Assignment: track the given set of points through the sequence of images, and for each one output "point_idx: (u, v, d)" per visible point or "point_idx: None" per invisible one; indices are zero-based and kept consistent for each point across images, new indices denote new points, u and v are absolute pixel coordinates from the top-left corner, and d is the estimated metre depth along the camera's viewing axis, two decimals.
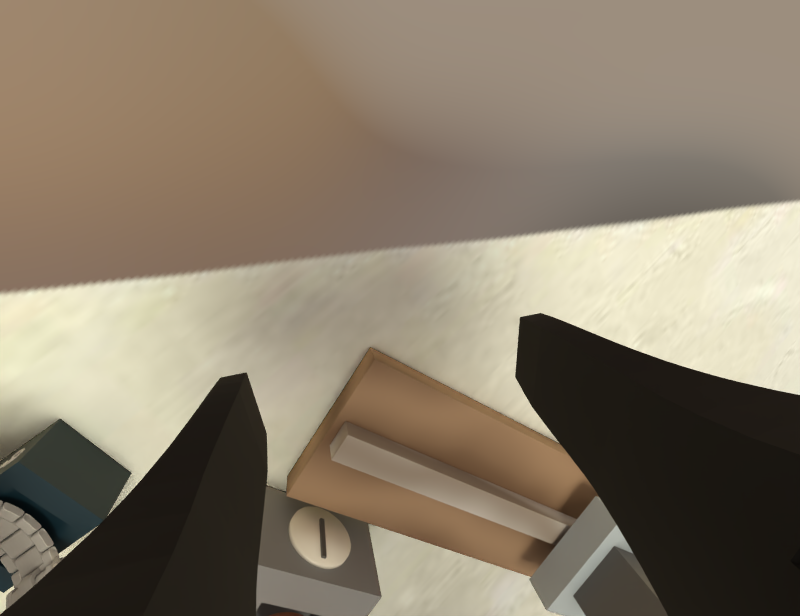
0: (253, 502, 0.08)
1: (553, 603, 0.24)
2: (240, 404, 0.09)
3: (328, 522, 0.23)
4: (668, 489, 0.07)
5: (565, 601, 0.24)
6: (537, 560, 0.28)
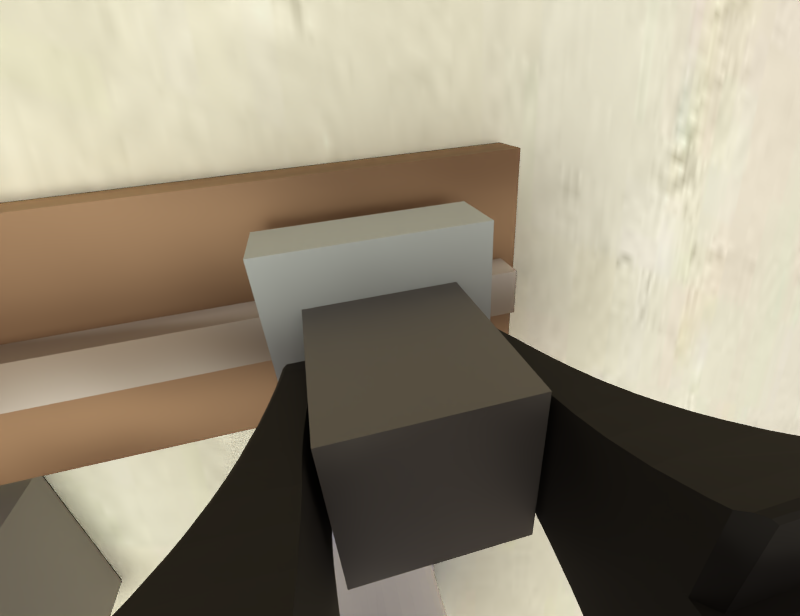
0: None
1: None
2: None
3: None
4: (589, 513, 0.07)
5: None
6: None
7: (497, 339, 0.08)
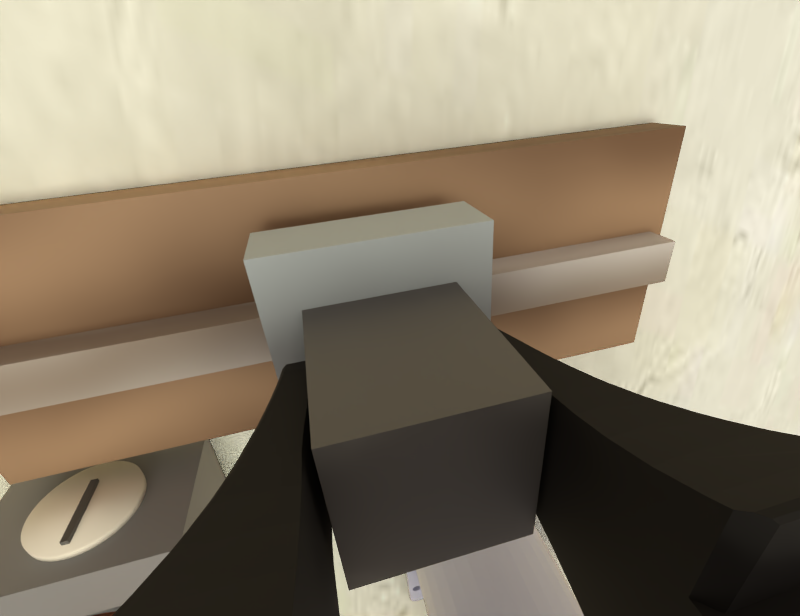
0: None
1: None
2: None
3: (110, 478, 0.15)
4: (589, 513, 0.07)
5: None
6: None
7: (498, 339, 0.08)
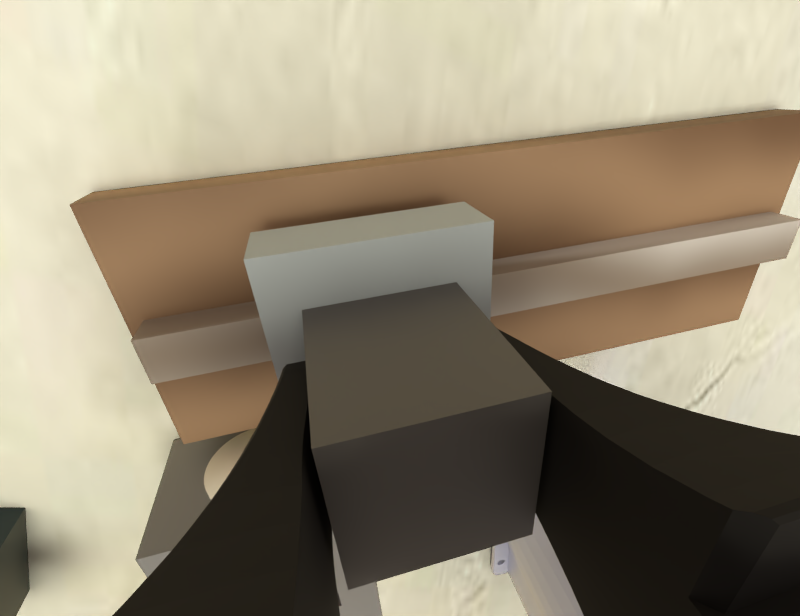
0: None
1: None
2: None
3: None
4: (589, 513, 0.07)
5: None
6: (616, 322, 0.18)
7: (497, 339, 0.08)
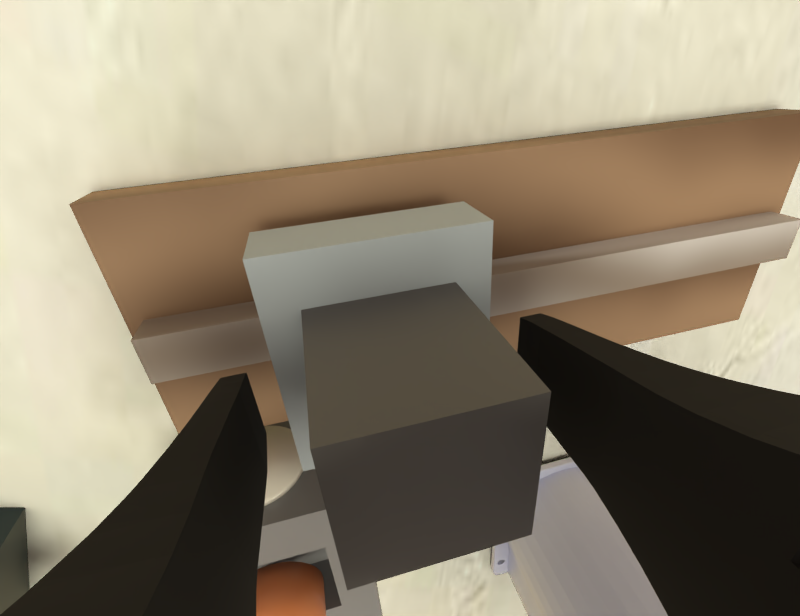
0: (253, 501, 0.08)
1: (302, 458, 0.12)
2: (241, 404, 0.09)
3: (269, 440, 0.16)
4: (668, 489, 0.07)
5: None
6: (617, 321, 0.18)
7: (497, 339, 0.08)
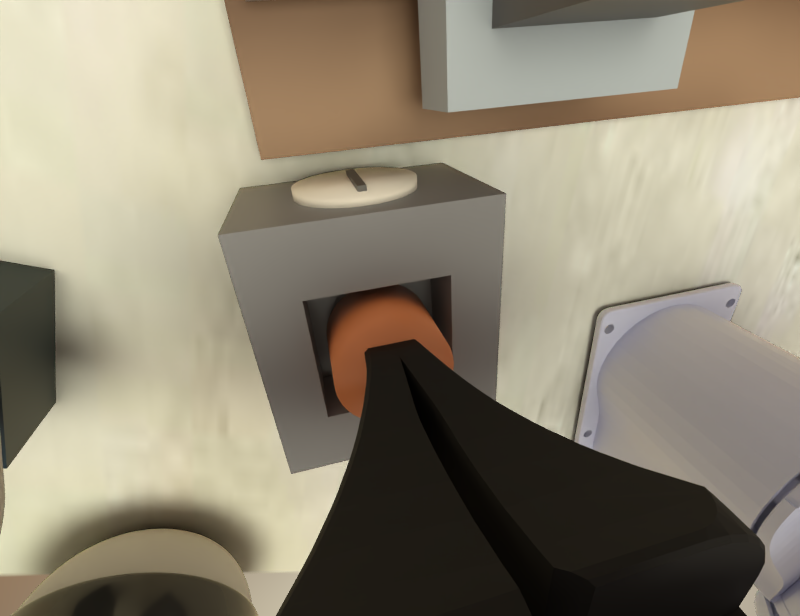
0: None
1: (450, 83, 0.09)
2: None
3: (365, 172, 0.13)
4: None
5: (484, 60, 0.09)
6: (784, 56, 0.14)
7: None
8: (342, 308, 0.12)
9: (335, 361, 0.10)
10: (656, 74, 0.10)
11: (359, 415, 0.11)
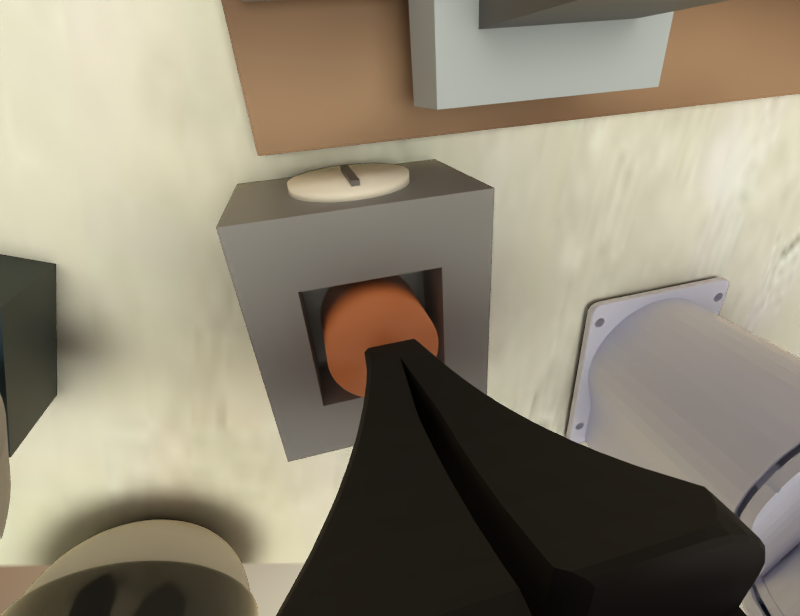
0: None
1: (439, 81, 0.09)
2: None
3: (359, 168, 0.13)
4: None
5: (471, 59, 0.09)
6: (766, 56, 0.15)
7: None
8: (335, 292, 0.12)
9: (328, 339, 0.11)
10: (637, 73, 0.10)
11: (351, 390, 0.12)
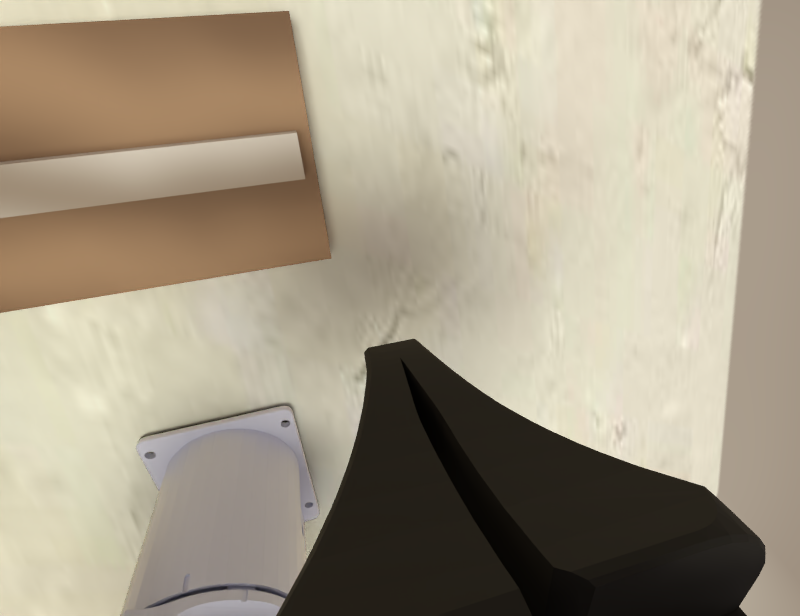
0: None
1: None
2: None
3: None
4: None
5: None
6: (153, 254, 0.16)
7: None
8: None
9: None
10: None
11: None
